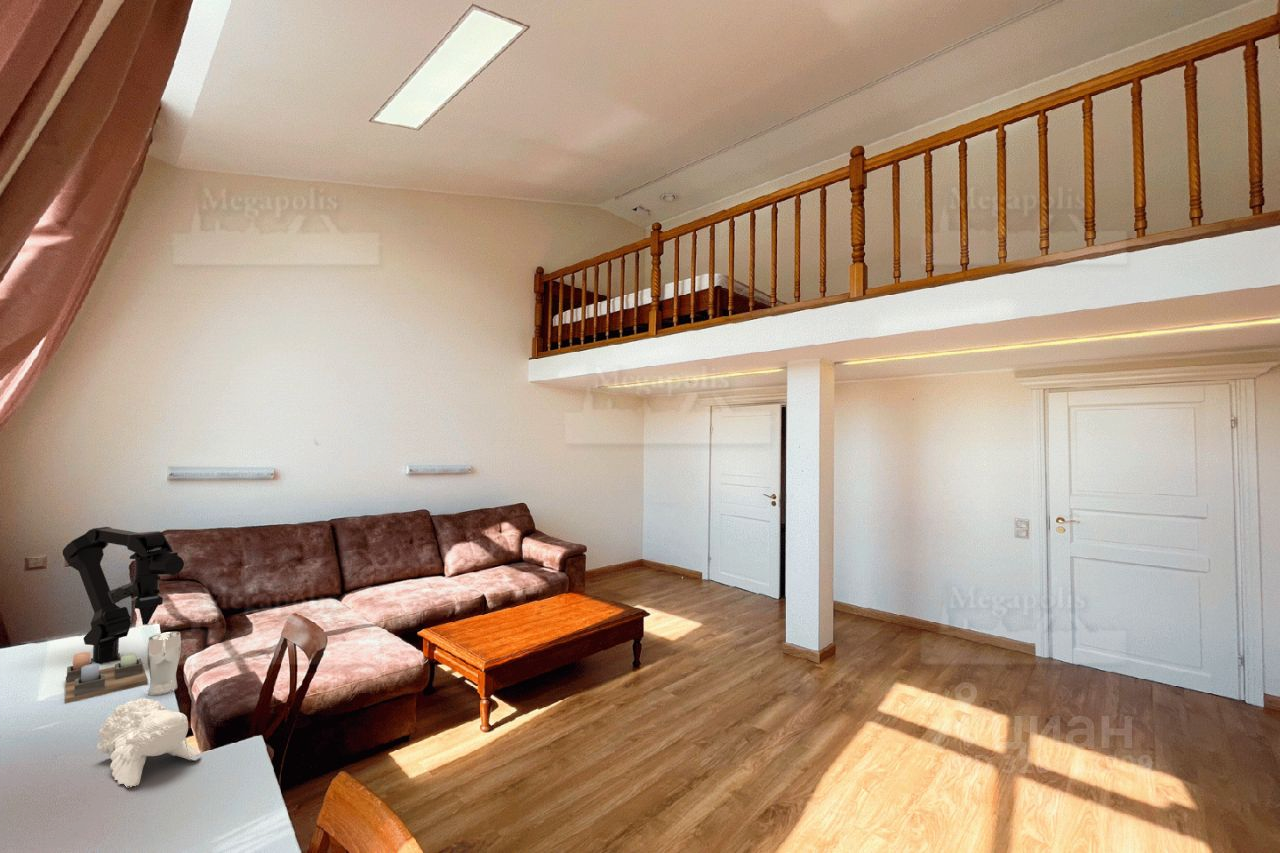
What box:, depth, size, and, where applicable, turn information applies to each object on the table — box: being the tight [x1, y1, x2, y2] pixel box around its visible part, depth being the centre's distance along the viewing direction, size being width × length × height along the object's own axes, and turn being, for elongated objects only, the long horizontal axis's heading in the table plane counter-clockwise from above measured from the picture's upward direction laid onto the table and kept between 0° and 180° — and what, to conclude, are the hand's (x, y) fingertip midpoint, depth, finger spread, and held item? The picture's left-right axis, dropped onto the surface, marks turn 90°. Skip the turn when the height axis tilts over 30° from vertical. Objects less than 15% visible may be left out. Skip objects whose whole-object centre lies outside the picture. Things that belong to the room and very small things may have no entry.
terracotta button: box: [72, 651, 91, 671], centre depth 155 cm, size 3×3×4 cm
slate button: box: [81, 663, 100, 683], centre depth 147 cm, size 3×3×4 cm
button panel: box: [64, 658, 149, 704], centre depth 154 cm, size 19×16×4 cm
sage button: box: [120, 653, 138, 667], centre depth 157 cm, size 3×3×4 cm
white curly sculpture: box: [96, 697, 201, 788], centre depth 116 cm, size 13×12×20 cm
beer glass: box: [146, 631, 182, 697], centre depth 149 cm, size 7×7×15 cm
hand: (145, 624), depth 167 cm, fingers closed
